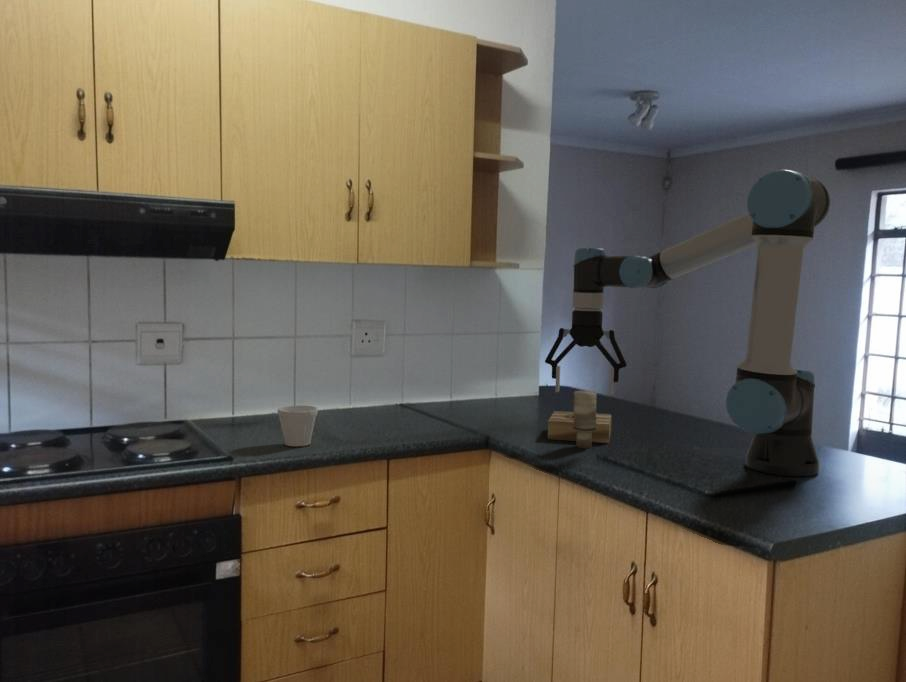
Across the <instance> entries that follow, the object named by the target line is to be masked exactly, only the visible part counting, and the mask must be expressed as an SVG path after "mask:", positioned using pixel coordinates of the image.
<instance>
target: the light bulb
mask: <svg viewBox="0 0 906 682" xmlns="http://www.w3.org/2000/svg"><path fill="white" fill-rule="evenodd" d="M597 396H598V395H597V391H593V390H575V391H574V393H573V412H574V422H573V429H574V430H577V441H576V447H577V448H580V449H591V448H592V446H593V445H592V443H593V442H592V431H595V430H596V413H597Z"/></svg>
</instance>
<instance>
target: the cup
mask: <svg viewBox="0 0 906 682" xmlns="http://www.w3.org/2000/svg"><path fill="white" fill-rule="evenodd" d="M318 412H319V409H318V407H316V406H314V405H313V406H311V405H287V406H281V407H279V408H277V415H278V419H279V422H280V427H281V431H282V435H283V439H284V444H285V446H286V447H288V446H289V447H288V448H304V447H308V446H310V445H311V441H312V436H313V432H314V427H315V421H316V417H317V416H318Z"/></svg>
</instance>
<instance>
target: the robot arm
mask: <svg viewBox="0 0 906 682" xmlns="http://www.w3.org/2000/svg"><path fill="white" fill-rule="evenodd" d="M830 206H831V197H830V193H829V191H828V189H827V187H826V186H825V185H824V183H822V182H821V181H819V180H818V179H816V178H814V177H812V176H807V175H805V174H803V173H802V172H800V171H797V170H790V169H778V170H773V171H770V172H768V173H766V174H764V175H762V176H761V177H760V178H759V179H757V180H756V182H755V183H753V185H752V186H751V188H750V190H749V192H748V195H747V199H746V207H747V211H748V212H747V213H744V214H742V215H740V216H737V217H736V218H734V219H731V220H729V221H726V222H724V223H722V224H720V225H717V226H715V227H713V228H711V229H708V230H706V231H704V232H702V233H699V234H697V235H695V236H692V237H691V238H689V239H686V240H684V241H682V242H679V243H677V244H675V245H672V246H669V248H668V247H667V248H666V249H664V250H661V251H659V252H657V253H655V254H652V255H650V256H648V257H647V256H643V255H642V256H641V255H634V254H633V255H612V256H610V255H609V256H608V255H606V251H605V249H604V248H601V247H579V248H577V249H576V250H575V252H574V259H573V260H574V262H573V291H572V308H573V309H574V310H572V312H571V315H572V316H571V328H565V327H560V328H559V330H558V336H557V337H556V340H555V341H554V343H553V345H552V346H551V349H550V350H549V353H548V354H547V356H546V357H545V360H544V363H545V364H547V365H550V366H551V378H552V379H554V380H555V388H554V390H555V391H554V392H555V393H559V392H560V389H561V387H560V384H561V365H558V364H559V363H560V362H562V360H563V359H564V357H566V356H567V355H568V353H570V352H571V351H572V350H573V349H574V347H575V346H576V345H577V346H578V347H581V348H582V347H588V348H593V347H596V348H597V349H598V351H599V352H601V354H602V355H603V356H604V358H605V359H606V360H607V361H608V363H610V365H611V366H612V368H611V369H610V379H609V380H610V384H609V387H610V388H609V396H614V384H615V383H618V382H619V376H620V375H619V374H620V369H624V368H626V367H627V362H626V359H625V357H624V355H623V352H622V351H621V349H620V347H619V343H618V342H617V340H616V337H615V336H616V335H615V330H614V329H610V330H603V311H602V309H603V308H604V288H605V287H606V288H607V287H611V288H612V287H614V288H615V287H616V288H630V289H633V288H634V289H638V288H649V289H657V288H661V287H662V288H663V287H664V286H666V285H668V283H669V282H670V281H671V280H674V279H676V278H678V277H680V276H684V275H686V274H688V273H691V272H694V271H695V270H699V269H700V268H703V267H705V266H708V265H711V264H712V263H715V262H718V261H720V260H723V259H725V258H727V257H730V256H733V255H735V254H738V253H740V252H743V251H744V250H747V249H750V248H753V247H754V246H757V255H756V262H755V263H756V264H755V271H754V281H753V288H752V289H753V290H752V291H753V292H752V299H751V310H750V319H749V327H748V336H747V345H746V355H745V358H744V360H742V361H741V362H740V363H739V364H737V367H736V374H735V375H736V377H735V383H733V385H732V386H731V387H730V389H729V390H728V392H727V395H726V398H725V406H726V407H725V409H726V412H727V414H728V416H729V418H730V420H732V421H733V423H734V424H735V426H736V427H738V428H739V429H741V430H743V431H745V432H747V433H751V434H754V435H753V437H752V439H751V441H750V444H749V446H748V449H747V452H746V455H745V466H746V467H748V468H749V469H751V470H753V471H757V472H760V473H764V474H769V475H774V476H775V475H776V476H785V477H811V476H815V475H818V473H819V470H820V468H819V467H820V463H819V458H818V455H817V452H816V447H815V446H814V441H813V438H812V437H813V436H812V433H813V416H814V401H815V399H814V397H815V387H816V383H815V374H814V373H813V371H811V370H808V369H801V368H795V367H794V366H793V365H792V363H791V358H792V351H793V350H792V349H793V343H794V342H793V341H794V333H795V325H796V315H797V307H798V300H799V299H798V298H799V292H800V291H799V290H800V282H801V275H802V274H801V273H802V264H803V258H804V257H803V255H804V248H805V247H806V245H808V244H809V243H811V242H812V241H813V240H814V233H815V227H817V226H818V225H819V224H820V225H821V223H822V222H823V220H825V218H826V216H827V215H828V212H829V210H830ZM568 334H569V336H570V337H571V338H572V341H571V342H570V343H568V345H567V346H566V347H565V348H564V349H563V350H562V352H561V353H560V354H559V355H558V356H557V357H556V358H555V359H553V358H554V356H555V354H556V352H557V350H558V349H559V347H560V345H561V343H562V341H563V339H564V338H565V337H567V336H568ZM603 336H605V337H606V339H608V340H609V341H610V344H611V346H612V348H613V350H614V353H615V355H616V357H617V359H618V361H619V363H618V362H617V361H616V360H615V359H614V357H613V356H612V354H611V353H610V352H609V350H607V348H606V347H605V346H604V344H603V343H602V342H601V339H602V338H603Z"/></svg>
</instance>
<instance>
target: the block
mask: <svg viewBox="0 0 906 682" xmlns="http://www.w3.org/2000/svg"><path fill="white" fill-rule="evenodd" d="M573 422H574V411H560V410H559V411H558V410H557V411H556V410H554V411H553V413H552V414H551V416H550V417H549V418H548V420H547V440H556V441H571V442H572V441H574V442H577V430H574V429H573ZM611 432H612V414H611V413H610V414H609V413H597V412H596V430H595V431H592V443H602V444H603V443H604V444H609V443H610V438H611V435H612V434H611Z"/></svg>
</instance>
